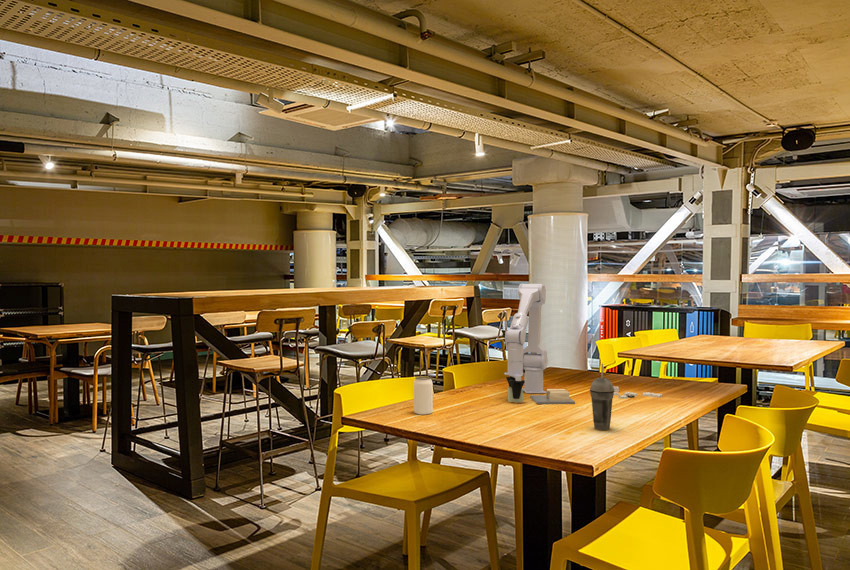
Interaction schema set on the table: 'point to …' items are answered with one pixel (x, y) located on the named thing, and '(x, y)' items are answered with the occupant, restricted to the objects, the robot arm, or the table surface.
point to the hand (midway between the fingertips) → (515, 397)
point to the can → (423, 395)
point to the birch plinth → (557, 394)
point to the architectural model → (633, 394)
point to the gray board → (544, 400)
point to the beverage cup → (602, 402)
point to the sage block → (510, 396)
